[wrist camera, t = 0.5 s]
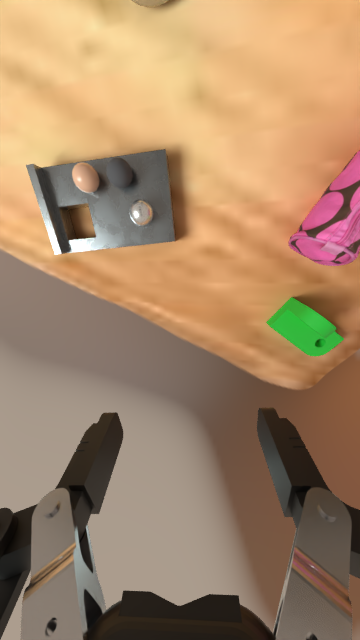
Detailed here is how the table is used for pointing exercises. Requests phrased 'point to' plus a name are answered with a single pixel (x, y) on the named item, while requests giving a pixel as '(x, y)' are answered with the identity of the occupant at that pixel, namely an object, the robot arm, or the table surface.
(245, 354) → the table surface
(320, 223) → the pencil case
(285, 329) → the mechanical part
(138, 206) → the steel ball
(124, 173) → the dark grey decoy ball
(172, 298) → the table surface
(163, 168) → the grey ball holder tray
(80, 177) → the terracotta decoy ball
